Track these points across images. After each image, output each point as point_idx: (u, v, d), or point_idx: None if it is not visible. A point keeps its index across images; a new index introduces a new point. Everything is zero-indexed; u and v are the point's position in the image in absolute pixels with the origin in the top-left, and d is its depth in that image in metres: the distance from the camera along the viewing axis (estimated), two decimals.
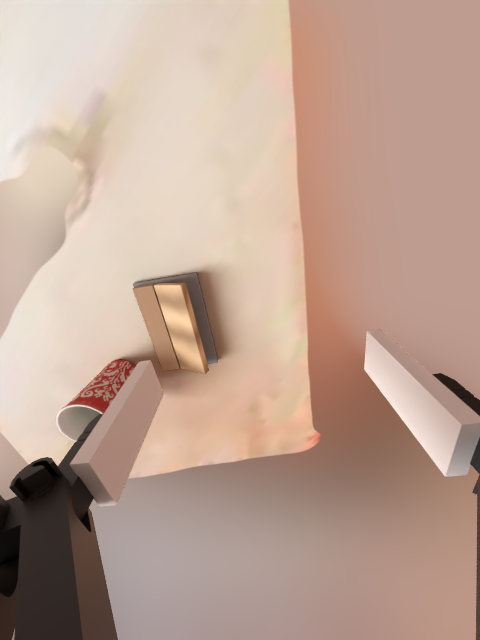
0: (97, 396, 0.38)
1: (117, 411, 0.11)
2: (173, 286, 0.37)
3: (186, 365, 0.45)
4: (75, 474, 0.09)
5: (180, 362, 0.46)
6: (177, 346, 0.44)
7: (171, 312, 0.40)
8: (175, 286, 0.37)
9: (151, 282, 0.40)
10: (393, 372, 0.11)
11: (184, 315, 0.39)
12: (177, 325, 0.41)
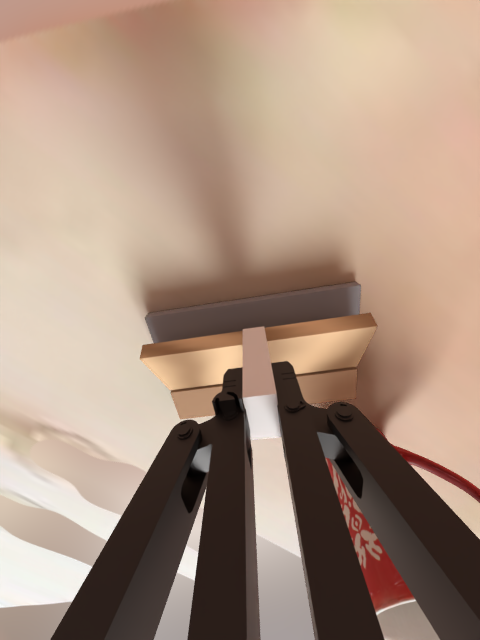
0: (364, 562, 0.18)
1: (254, 363, 0.13)
2: (151, 368, 0.19)
3: (347, 357, 0.20)
4: None
5: (340, 366, 0.21)
6: (298, 368, 0.21)
7: (214, 373, 0.20)
8: (149, 365, 0.18)
9: None
10: None
11: (211, 355, 0.18)
12: None
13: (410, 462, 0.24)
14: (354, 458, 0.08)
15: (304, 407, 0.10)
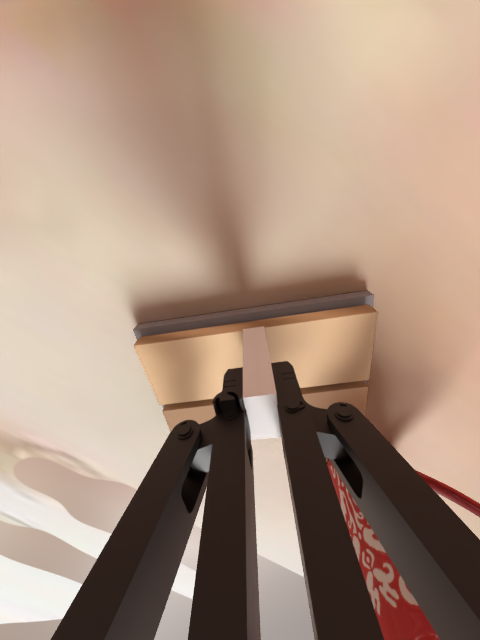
0: (378, 607, 0.16)
1: (254, 363, 0.13)
2: (143, 362, 0.18)
3: (354, 362, 0.18)
4: None
5: (349, 377, 0.19)
6: (302, 378, 0.19)
7: (209, 377, 0.19)
8: (142, 358, 0.18)
9: (165, 405, 0.22)
10: None
11: (206, 346, 0.17)
12: None
13: None
14: (354, 458, 0.08)
15: (304, 407, 0.10)
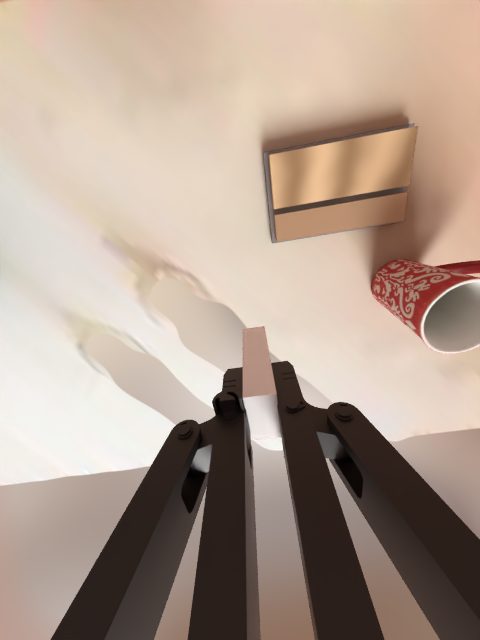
0: (418, 296, 0.27)
1: (254, 363, 0.13)
2: (272, 169, 0.29)
3: (401, 169, 0.29)
4: None
5: (396, 183, 0.30)
6: (367, 184, 0.30)
7: (310, 183, 0.30)
8: (272, 165, 0.29)
9: (272, 219, 0.33)
10: None
11: (313, 155, 0.29)
12: (330, 175, 0.30)
13: None
14: (354, 458, 0.08)
15: (304, 407, 0.10)
